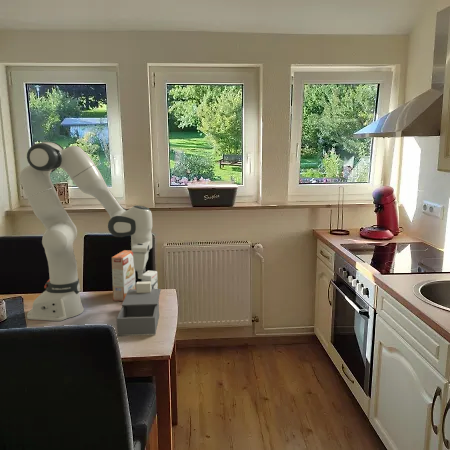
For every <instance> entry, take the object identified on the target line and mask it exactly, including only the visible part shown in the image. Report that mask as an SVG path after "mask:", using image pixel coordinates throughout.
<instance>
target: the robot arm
mask: <svg viewBox="0 0 450 450" xmlns="http://www.w3.org/2000/svg"><path fill="white" fill-rule="evenodd" d="M26 160H27V163H28V164H29V165H28V166H26V167H23V168H22V169H21V171H20V173H19V179H20V183H21V186H22V188H23V189H22V190H23V193H24V195H25V196H26V199H27V201H28V203H29V205H30V207H31V209H32V211H33V213H34V215H35V216H36V218H37V219H38V220H39V221H40V222H41V224H42V225H43V227H44V228H45V231H44V233H43V234H42V238H41V239H42V240H41V244H42V247H43V248H44V253H45V256H46V260H47V266H48V273H49V276H48V277H49V279H48V280H47V281H46V283H45V285H44V289H45V290H44V291H43V292H41V294H39V295H38V296H37V297H36V298H35V299H34V301H33V303H32V308H31V309H29V310H28V312H27V314H26V319H27V320H32V321H33V320H35V321H53V322H54V321H55V322H61V321H65V320H67V319H69V318H73V317H76V316H79V315H81V314H82V313H84V311H85V309H84V306H83V303H82V300H81V294H80V291H81V287H80V286H81V285H80V278H78V277H79V276H78V261H77V259H76V256H75V251H74V242H75V240H76V239H77V236H78V228H77V226H76V224H75V223H74V222H73V220H72V218H71V217H70V215H69V214H68V212H67V210H66V209H65V207H64V206H63V203H62V201H61V199H60V197H59V195H58V193H57V191H56V188H55V186H54V184H53V181H52V180H51V173H53V172H54V171H56V170H57V169H62V170H64V172H65V173H66V174H67V175H68V177H69V178H70V179H71V180H72V182H73V184H74V185H75V186H76V187H77V188H78V190H80V191H81V192H83V193H84V194H87V195H89V196H92V197H94V198H95V199H96V200H97V201H98V202H99V203H100V204H101V206H102V207H103V208H104V210H105V211H106V212H107V214H108V215H109V218H110V219H109V220H108V222H107V229H108V232H109V233H110V234H111V235H112V236H113V237H115V238H124V237H129V236H130V238H131V239H130V241H131V242H130V246H131V247H130V248H131V251H132V252H133V261H134V269H135V272H137V279H140V280H142V278H143V274H144V273H145V272H146V267H147V266H146V265H147V262H148V260H149V252H150V250H151V249H152V248H153V234H152V230H153V213H152V211H151V209H150V208H149V207H146V206H144V205H133V206H132V207H130V208H129V209H126V208H124V207H123V206H122V205H121V203H119V201H118V200H117V199H116V197H115V196H114V195H113V193H112V192H111V191H110V189H109V187H108V185H107V183H106V181H105V180H104V178H103V175H102V173H101V172H100V170H99V169H98V167H97V166H96V163H94V161H93V160H92V159H91V157H90V156H89V155H88V153H86V152H85V150H84V149H82V147H80V146H77V145H71V146H68V147H66V148H63V147H62V146H61V145H60V144H58V143H57V142H51V141H42V142H39V143H38V142H37V143H35V144H33V145H31V146H30V147H29V149H28V151H27V152H26Z"/></svg>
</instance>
